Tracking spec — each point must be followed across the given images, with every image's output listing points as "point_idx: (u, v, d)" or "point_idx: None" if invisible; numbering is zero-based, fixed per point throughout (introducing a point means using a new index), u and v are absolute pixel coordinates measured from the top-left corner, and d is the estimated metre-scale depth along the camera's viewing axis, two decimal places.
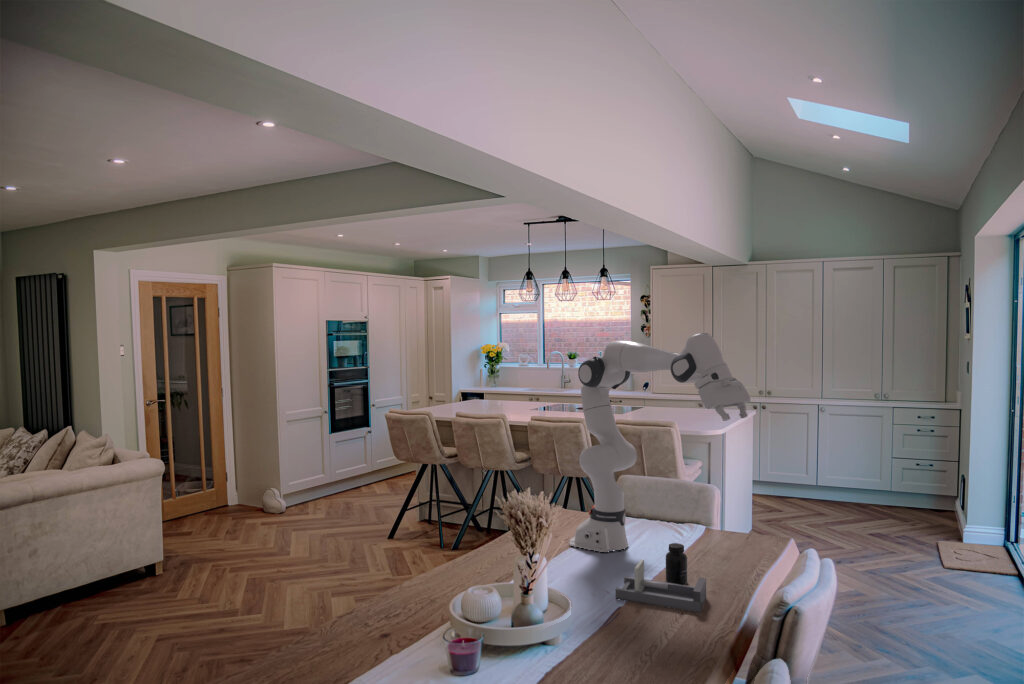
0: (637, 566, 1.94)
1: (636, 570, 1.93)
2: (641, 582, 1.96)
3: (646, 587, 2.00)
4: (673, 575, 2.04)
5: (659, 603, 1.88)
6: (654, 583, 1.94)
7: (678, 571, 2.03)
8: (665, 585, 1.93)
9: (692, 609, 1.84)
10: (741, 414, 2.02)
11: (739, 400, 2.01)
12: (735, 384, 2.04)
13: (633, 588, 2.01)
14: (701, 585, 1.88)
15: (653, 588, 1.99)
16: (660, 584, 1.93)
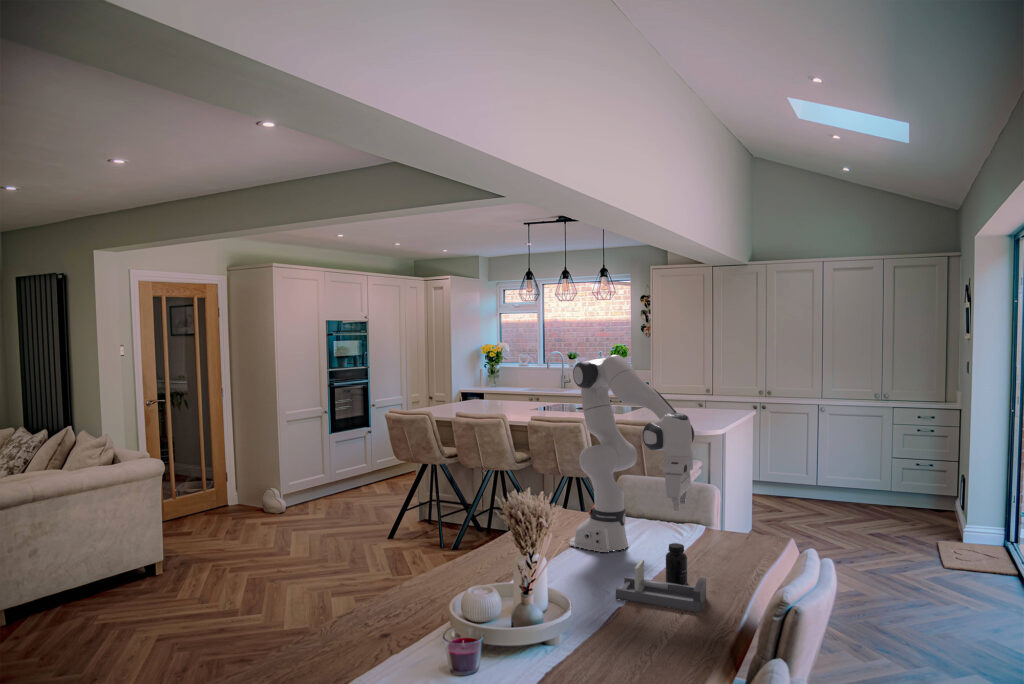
0: (637, 566, 1.94)
1: (636, 570, 1.93)
2: (641, 582, 1.96)
3: (646, 587, 2.00)
4: (673, 575, 2.04)
5: (659, 603, 1.88)
6: (654, 583, 1.94)
7: (678, 571, 2.03)
8: (665, 585, 1.93)
9: (692, 609, 1.84)
10: (681, 500, 2.09)
11: (687, 488, 2.08)
12: None
13: (633, 588, 2.01)
14: (701, 585, 1.88)
15: (653, 588, 1.99)
16: (660, 584, 1.93)
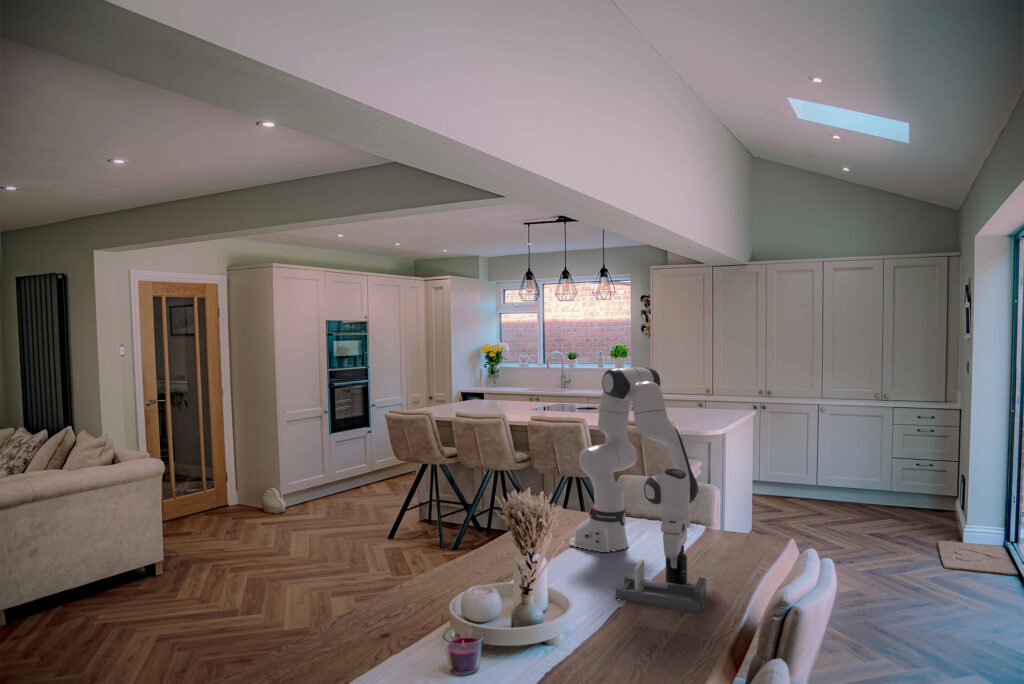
0: (637, 566, 1.94)
1: (636, 570, 1.93)
2: (641, 582, 1.96)
3: (646, 587, 2.00)
4: (673, 575, 2.04)
5: (659, 603, 1.88)
6: (654, 583, 1.94)
7: (678, 571, 2.03)
8: (665, 585, 1.93)
9: (692, 609, 1.84)
10: None
11: (683, 544, 2.09)
12: None
13: (633, 588, 2.01)
14: (701, 585, 1.88)
15: (653, 588, 1.99)
16: (660, 584, 1.93)
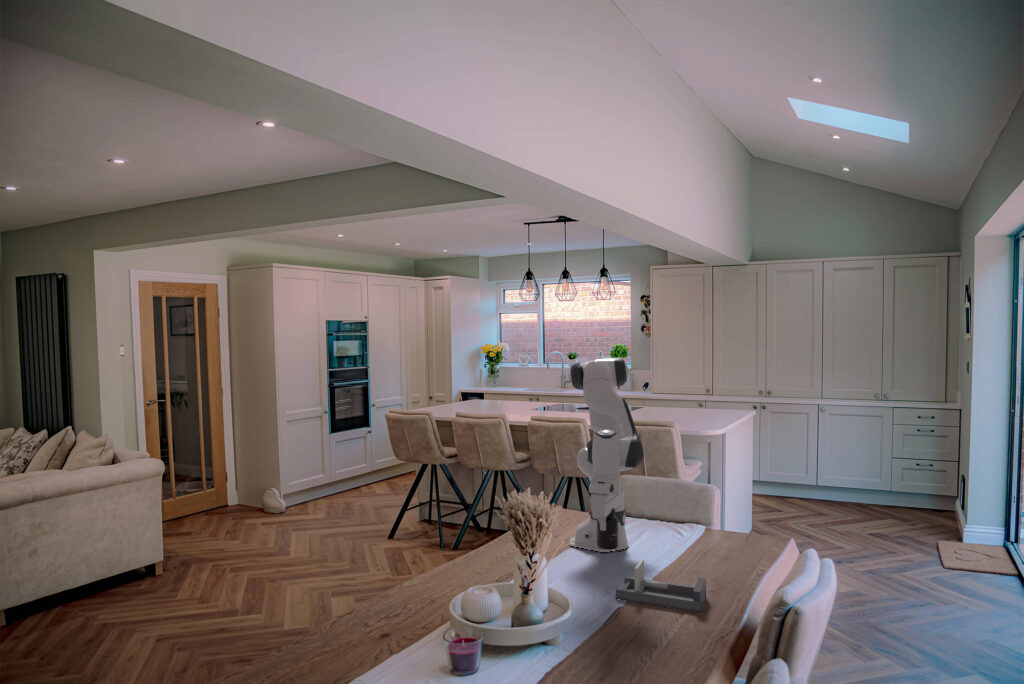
0: (637, 566, 1.94)
1: (636, 570, 1.93)
2: (641, 582, 1.96)
3: (646, 587, 2.00)
4: (602, 539, 1.98)
5: (659, 603, 1.88)
6: (654, 583, 1.94)
7: (608, 535, 1.97)
8: (665, 585, 1.93)
9: (692, 609, 1.84)
10: None
11: (615, 507, 2.03)
12: None
13: (633, 588, 2.01)
14: (701, 585, 1.88)
15: (653, 588, 1.99)
16: (660, 584, 1.93)
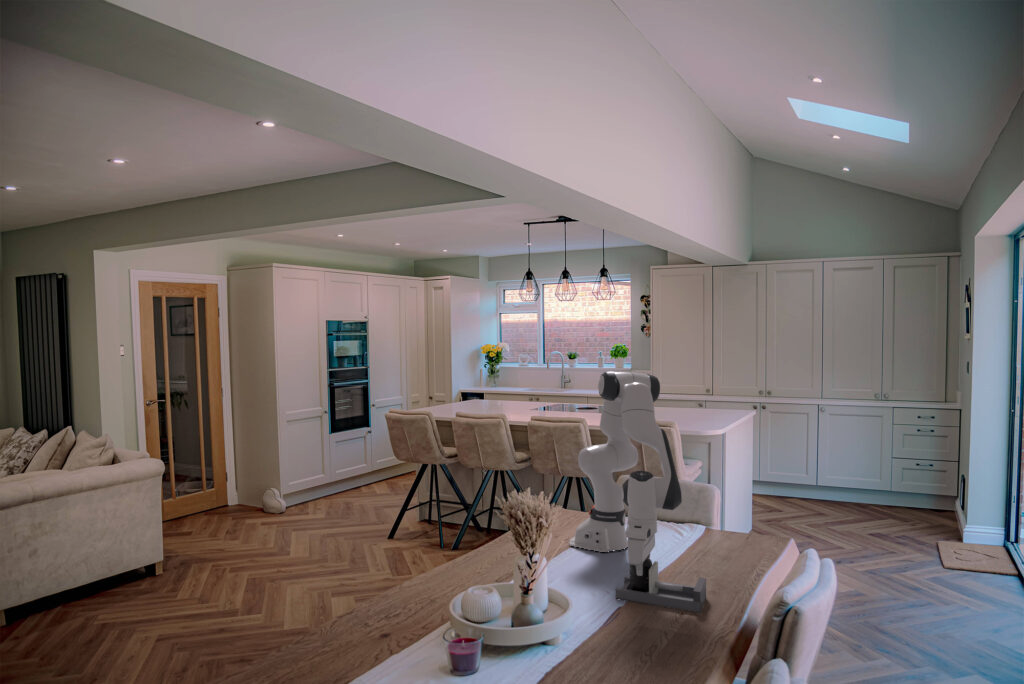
0: (651, 568, 1.93)
1: (650, 572, 1.91)
2: (655, 584, 1.94)
3: None
4: (636, 581, 1.94)
5: (659, 603, 1.88)
6: (669, 585, 1.92)
7: (642, 578, 1.93)
8: (680, 587, 1.91)
9: (692, 609, 1.84)
10: None
11: (650, 550, 1.98)
12: None
13: None
14: (701, 585, 1.88)
15: None
16: (675, 586, 1.92)
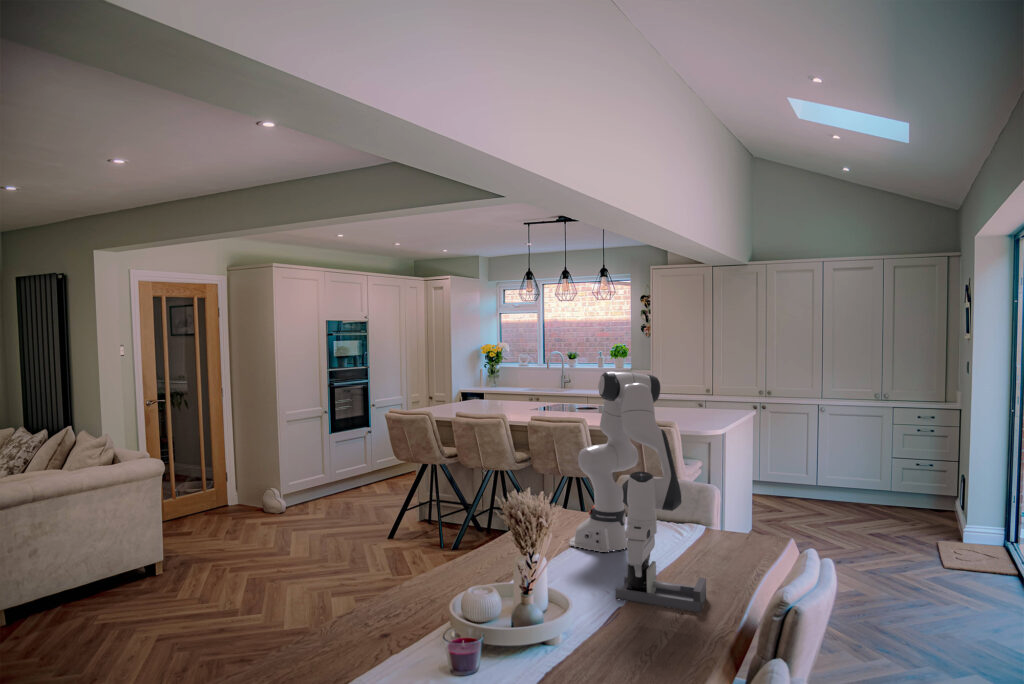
0: (649, 568, 1.93)
1: (648, 572, 1.91)
2: (653, 584, 1.94)
3: None
4: (634, 586, 1.94)
5: (659, 603, 1.88)
6: (666, 585, 1.93)
7: (640, 582, 1.93)
8: (677, 587, 1.91)
9: (692, 609, 1.84)
10: None
11: (650, 551, 1.98)
12: None
13: None
14: (701, 585, 1.88)
15: None
16: (672, 586, 1.92)
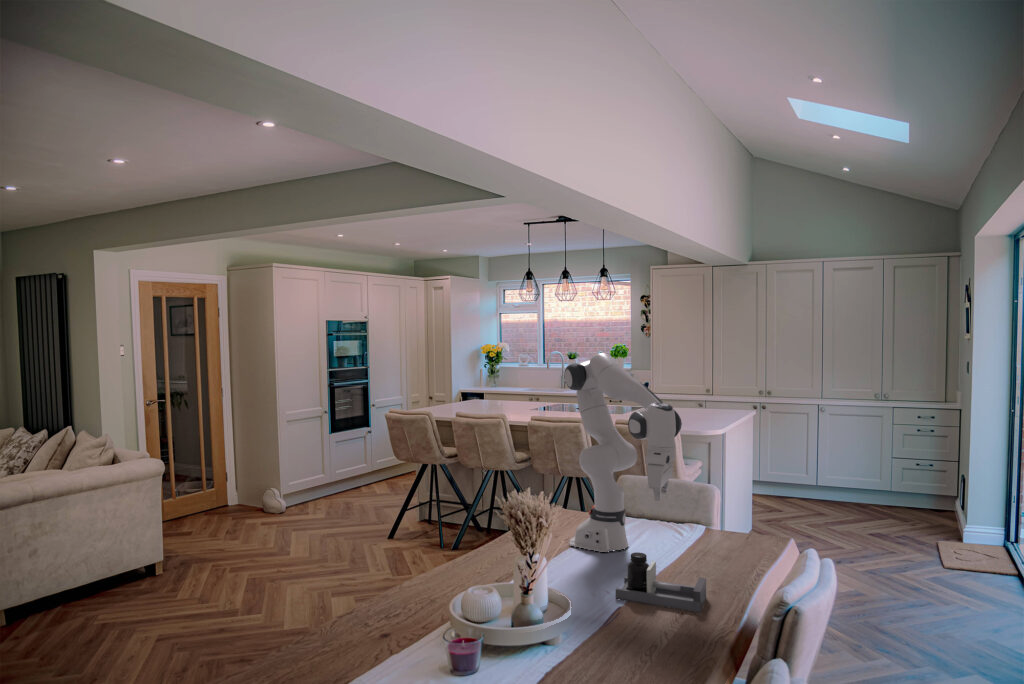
0: (649, 568, 1.93)
1: (648, 572, 1.91)
2: (653, 584, 1.94)
3: None
4: (634, 586, 1.94)
5: (659, 603, 1.88)
6: (666, 585, 1.93)
7: (640, 582, 1.93)
8: (677, 587, 1.91)
9: (692, 609, 1.84)
10: (663, 489, 2.09)
11: (668, 478, 2.08)
12: None
13: None
14: (701, 585, 1.88)
15: None
16: (672, 586, 1.92)
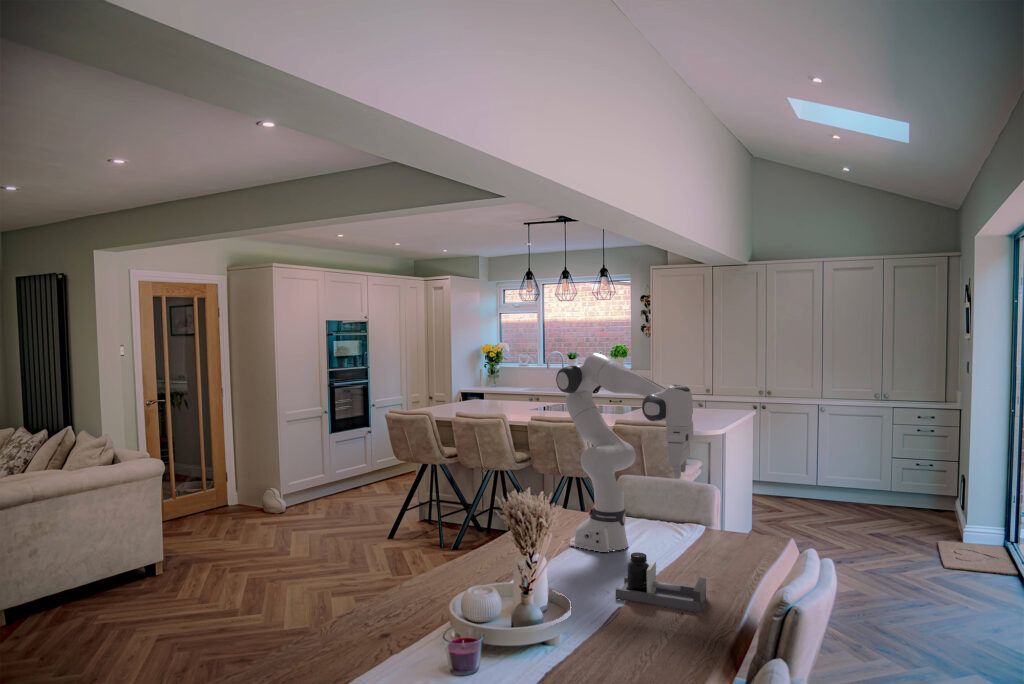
0: (649, 568, 1.93)
1: (648, 572, 1.91)
2: (653, 584, 1.94)
3: None
4: (634, 586, 1.94)
5: (659, 603, 1.88)
6: (666, 585, 1.93)
7: (640, 582, 1.93)
8: (677, 587, 1.91)
9: (692, 609, 1.84)
10: (681, 468, 2.18)
11: (687, 457, 2.17)
12: None
13: None
14: (701, 585, 1.88)
15: None
16: (672, 586, 1.92)
